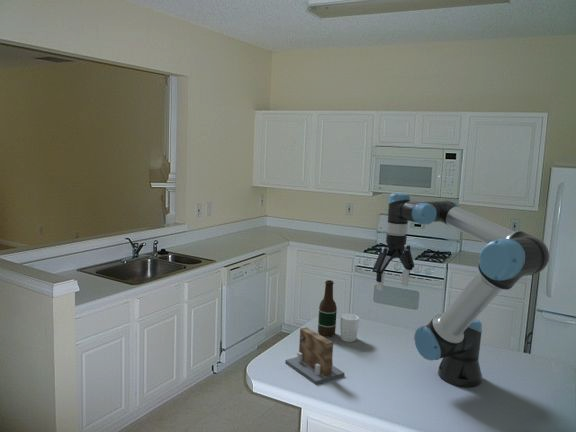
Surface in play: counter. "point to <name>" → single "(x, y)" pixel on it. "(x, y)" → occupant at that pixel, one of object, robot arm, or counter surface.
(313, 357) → the brown wooden board
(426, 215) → the robot arm
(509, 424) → the counter surface
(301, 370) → the board
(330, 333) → the beer bottle
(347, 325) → the white cup
